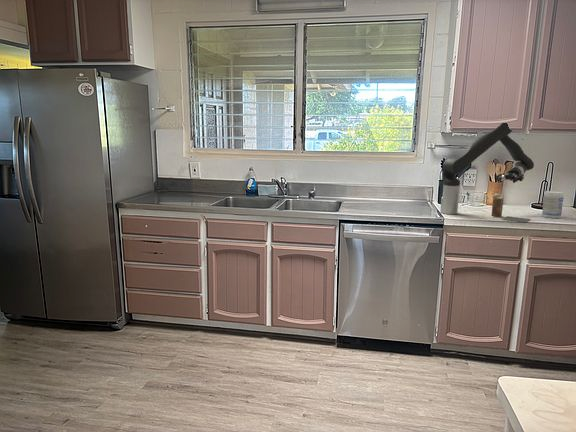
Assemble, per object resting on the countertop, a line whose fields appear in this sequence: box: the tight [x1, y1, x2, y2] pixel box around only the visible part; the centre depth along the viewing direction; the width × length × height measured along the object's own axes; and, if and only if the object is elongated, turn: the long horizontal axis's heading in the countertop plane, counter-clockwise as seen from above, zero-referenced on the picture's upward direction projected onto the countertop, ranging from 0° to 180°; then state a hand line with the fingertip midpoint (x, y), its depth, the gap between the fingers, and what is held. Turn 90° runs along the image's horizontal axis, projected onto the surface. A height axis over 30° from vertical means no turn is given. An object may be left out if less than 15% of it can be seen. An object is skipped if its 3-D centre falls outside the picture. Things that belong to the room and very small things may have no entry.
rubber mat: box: [501, 215, 531, 223], centre depth 236 cm, size 12×11×1 cm
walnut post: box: [491, 193, 505, 218], centre depth 244 cm, size 4×4×13 cm
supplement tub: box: [541, 190, 565, 219], centre depth 242 cm, size 10×10×15 cm
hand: (505, 181), depth 247 cm, fingers open, 8 cm apart
